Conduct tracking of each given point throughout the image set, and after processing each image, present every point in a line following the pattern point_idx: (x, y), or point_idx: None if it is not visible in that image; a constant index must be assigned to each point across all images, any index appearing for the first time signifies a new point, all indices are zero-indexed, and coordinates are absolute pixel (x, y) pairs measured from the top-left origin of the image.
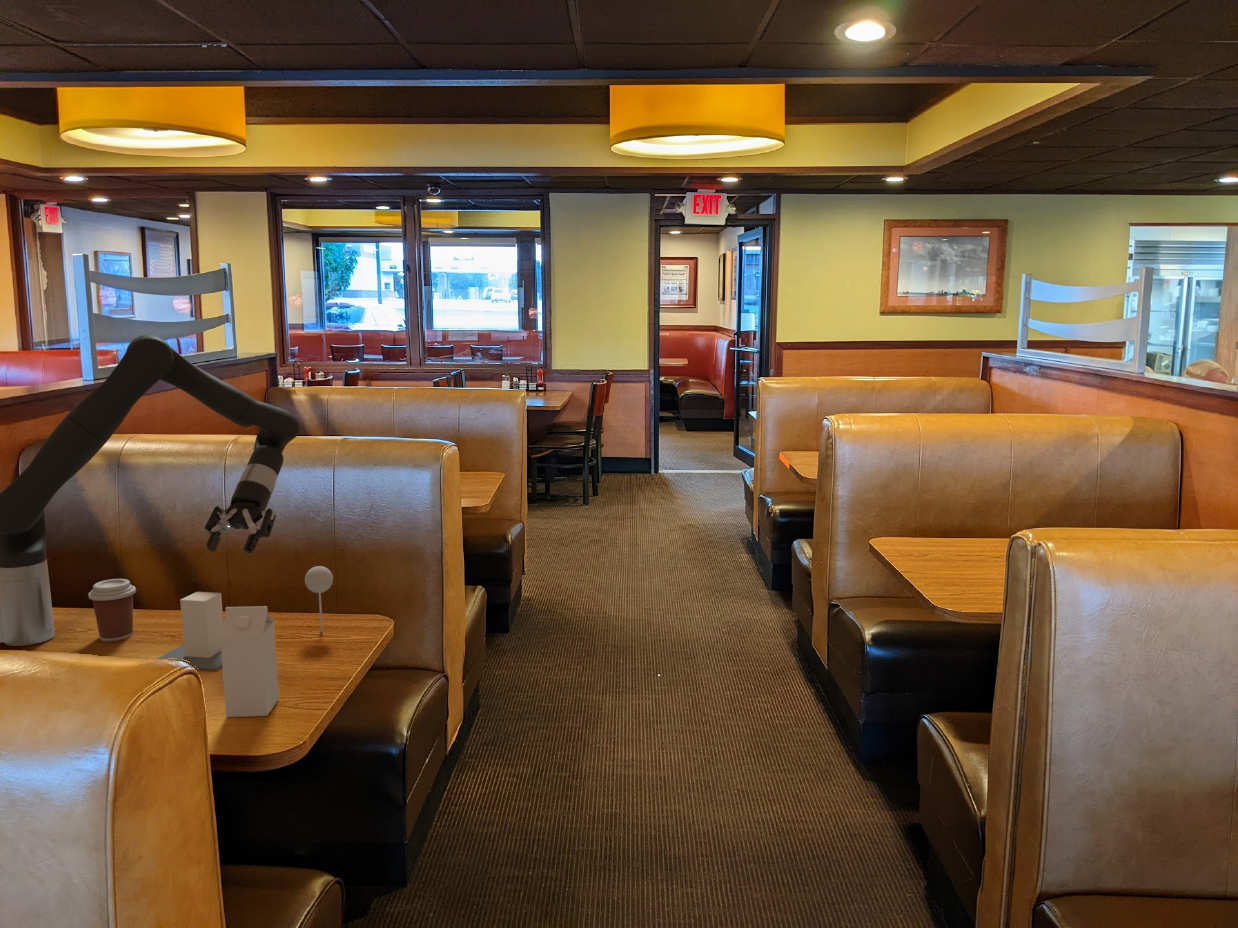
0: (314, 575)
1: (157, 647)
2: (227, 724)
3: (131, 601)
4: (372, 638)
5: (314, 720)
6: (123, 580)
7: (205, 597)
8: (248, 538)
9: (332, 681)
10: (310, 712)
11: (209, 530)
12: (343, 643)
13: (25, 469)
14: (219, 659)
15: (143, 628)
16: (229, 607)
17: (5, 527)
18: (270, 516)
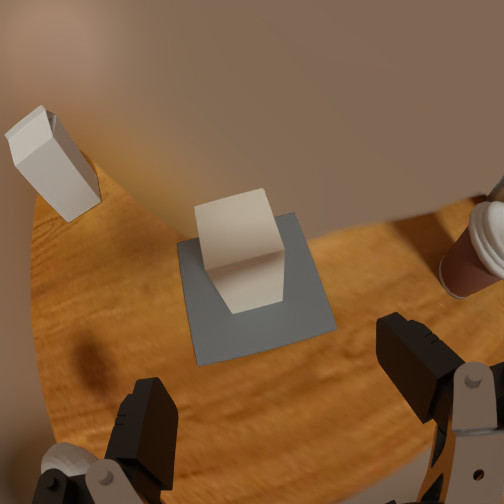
0: (51, 451)
1: (361, 273)
2: None
3: (476, 266)
4: (60, 435)
5: (35, 211)
6: None
7: (216, 225)
8: (136, 431)
9: (39, 283)
10: (40, 219)
11: (498, 369)
12: (79, 409)
13: None
14: (200, 270)
15: (459, 319)
16: (38, 107)
17: None
18: None
